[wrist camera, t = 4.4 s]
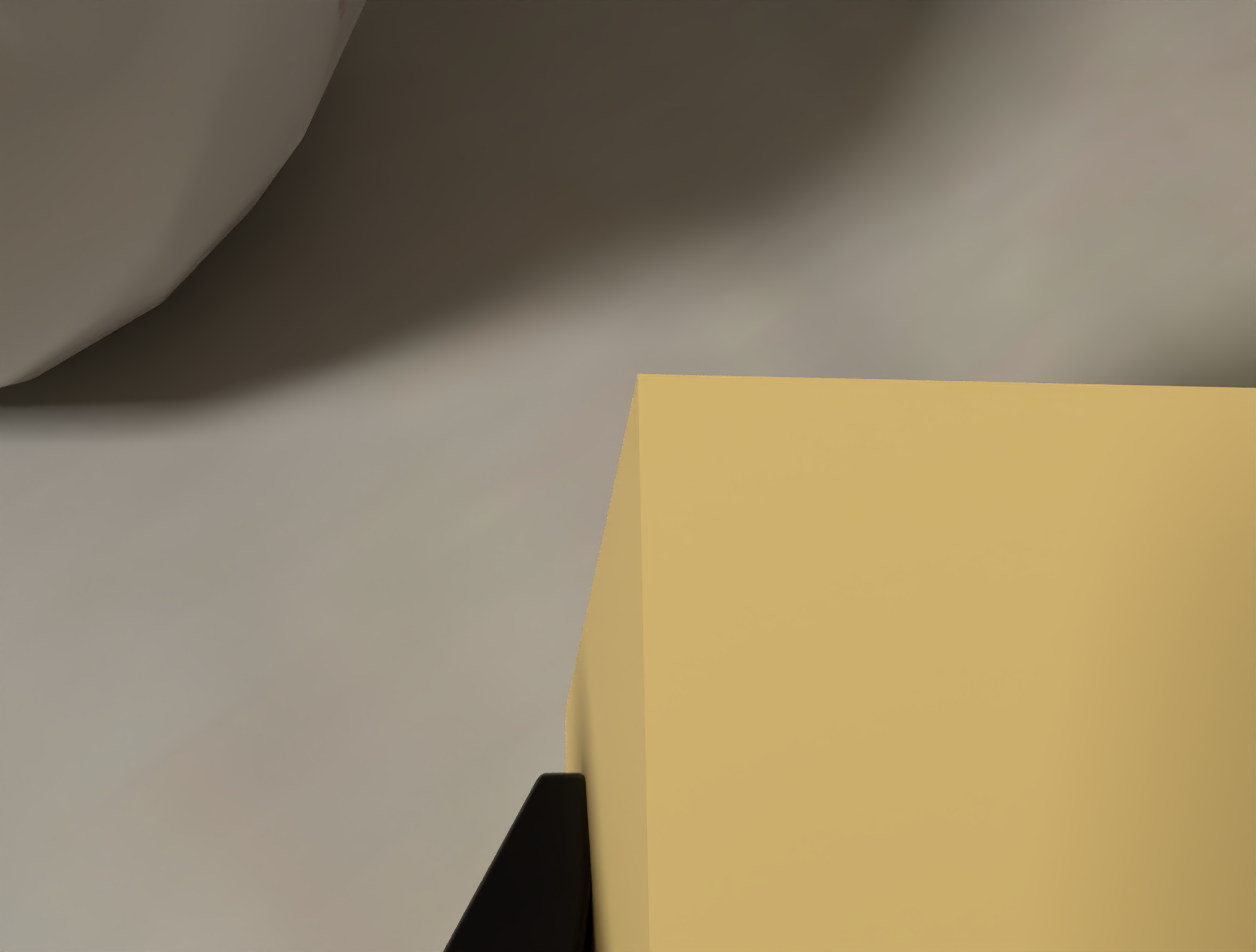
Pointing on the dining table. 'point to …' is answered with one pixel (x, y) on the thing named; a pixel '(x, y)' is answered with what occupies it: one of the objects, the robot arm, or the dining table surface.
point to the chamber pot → (139, 149)
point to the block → (923, 669)
